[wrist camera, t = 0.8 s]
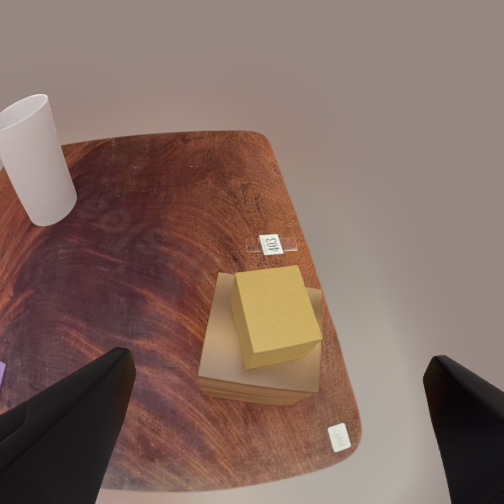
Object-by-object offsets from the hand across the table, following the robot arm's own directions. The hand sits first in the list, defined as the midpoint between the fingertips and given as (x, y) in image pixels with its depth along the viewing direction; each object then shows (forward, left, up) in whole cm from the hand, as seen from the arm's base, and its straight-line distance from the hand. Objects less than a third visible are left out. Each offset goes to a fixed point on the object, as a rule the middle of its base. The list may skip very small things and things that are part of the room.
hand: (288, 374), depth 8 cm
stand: (+6, -1, -20) cm, 21 cm away
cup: (+21, +30, -20) cm, 42 cm away
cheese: (+6, -1, -11) cm, 13 cm away
